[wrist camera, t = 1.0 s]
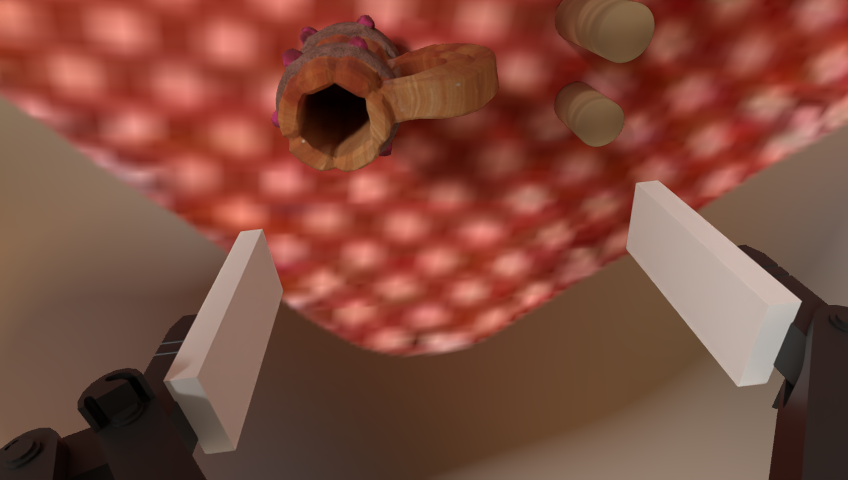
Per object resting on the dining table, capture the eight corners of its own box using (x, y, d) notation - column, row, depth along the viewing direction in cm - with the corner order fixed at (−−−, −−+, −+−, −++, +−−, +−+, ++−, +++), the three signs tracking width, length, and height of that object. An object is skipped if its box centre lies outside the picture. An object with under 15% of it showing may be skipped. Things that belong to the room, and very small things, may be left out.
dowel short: (554, 85, 40) (578, 105, 35) (595, 78, 40) (626, 97, 35) (554, 125, 42) (577, 150, 37) (593, 119, 42) (622, 142, 37)
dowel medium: (554, -5, 36) (599, 7, 29) (600, -13, 36) (657, -3, 29) (554, 43, 38) (596, 67, 31) (598, 36, 38) (650, 58, 31)
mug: (312, 128, 41) (279, 209, 28) (278, 28, 36) (221, 71, 24) (477, 92, 40) (520, 158, 27) (463, -14, 36) (506, 7, 23)
